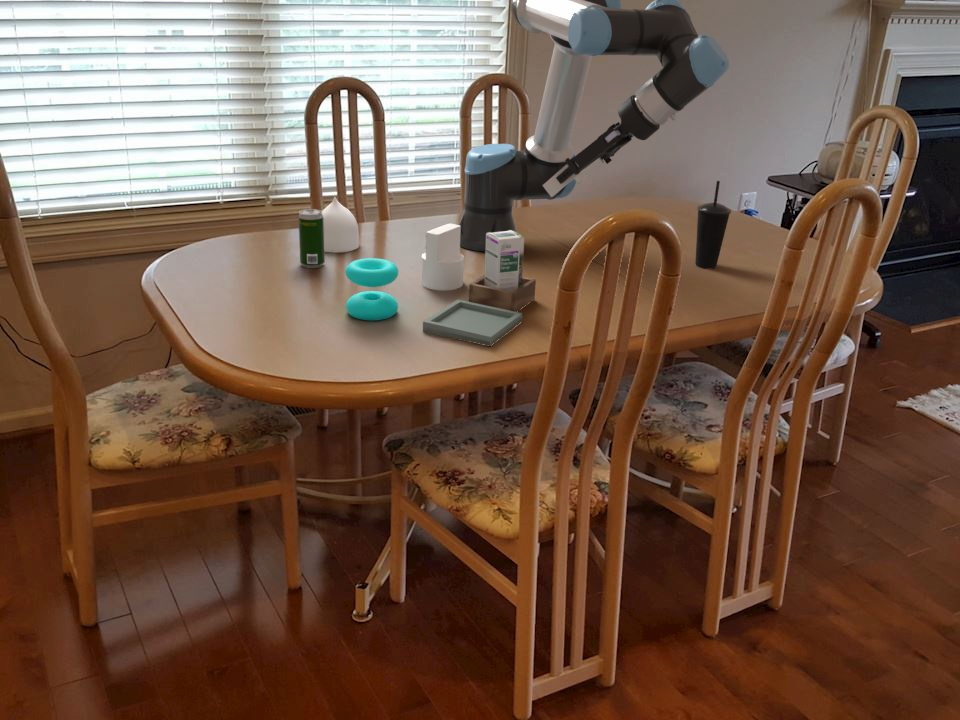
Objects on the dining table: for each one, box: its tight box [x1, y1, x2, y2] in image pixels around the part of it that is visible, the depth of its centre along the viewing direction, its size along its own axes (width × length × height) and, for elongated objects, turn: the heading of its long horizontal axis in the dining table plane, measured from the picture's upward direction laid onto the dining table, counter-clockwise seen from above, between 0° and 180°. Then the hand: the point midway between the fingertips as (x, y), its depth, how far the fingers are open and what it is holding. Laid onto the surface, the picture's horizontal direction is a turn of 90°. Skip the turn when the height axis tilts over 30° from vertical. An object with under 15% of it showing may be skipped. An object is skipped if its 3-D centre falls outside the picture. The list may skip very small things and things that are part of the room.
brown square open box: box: [468, 274, 537, 312], centre depth 188 cm, size 10×10×4 cm
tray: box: [422, 299, 523, 347], centre depth 176 cm, size 14×14×2 cm
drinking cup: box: [694, 180, 732, 269], centre depth 214 cm, size 8×8×20 cm
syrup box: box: [484, 230, 525, 292], centre depth 186 cm, size 6×6×14 cm
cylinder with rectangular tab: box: [420, 222, 465, 291], centre depth 196 cm, size 9×9×12 cm
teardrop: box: [321, 196, 360, 254], centre depth 218 cm, size 11×11×12 cm
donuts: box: [345, 257, 399, 322], centre depth 179 cm, size 10×10×10 cm
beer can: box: [298, 208, 326, 269], centre depth 204 cm, size 5×5×12 cm
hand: (561, 184), depth 174 cm, fingers open, 13 cm apart
